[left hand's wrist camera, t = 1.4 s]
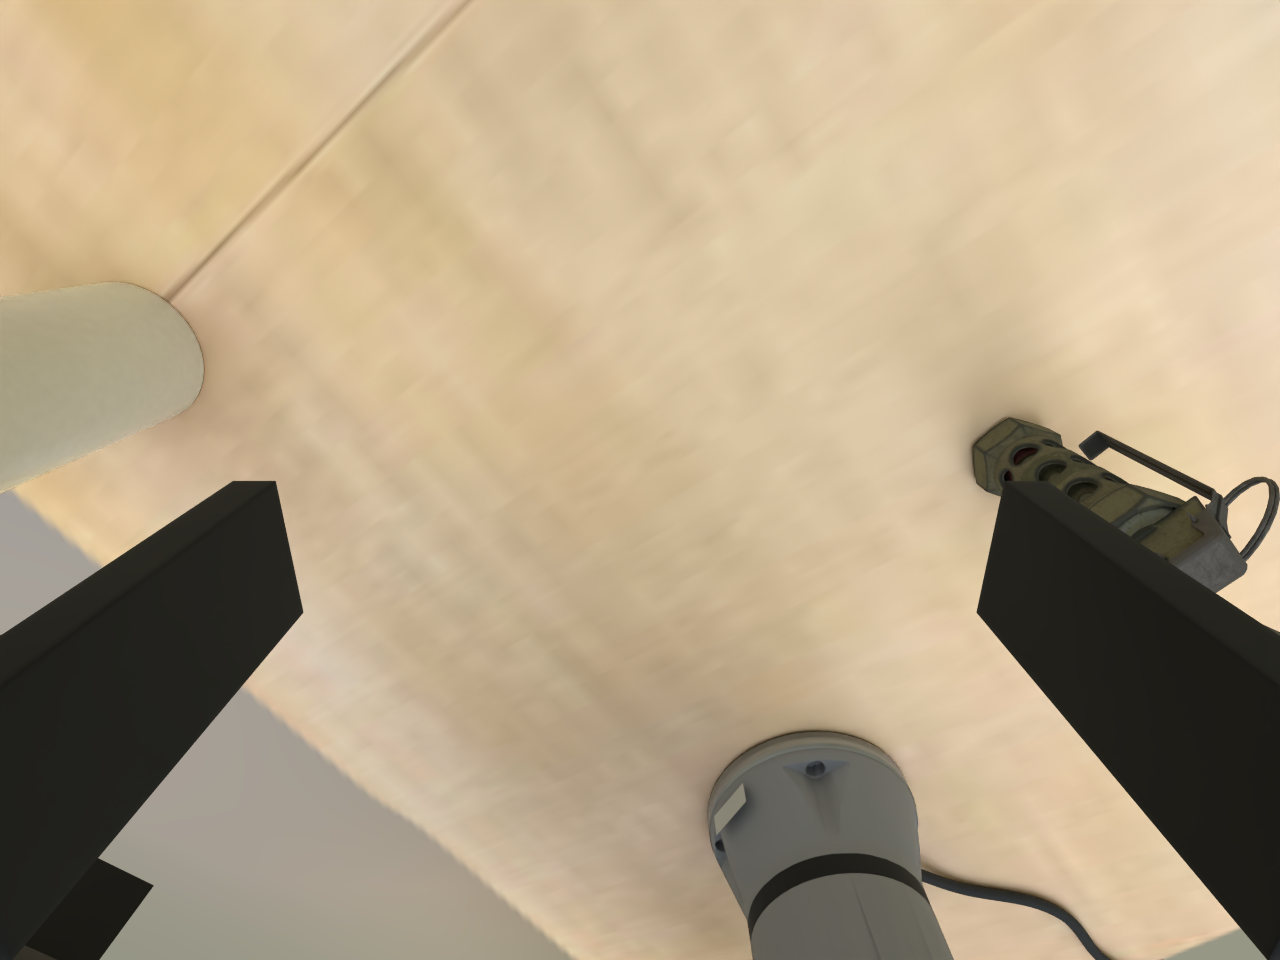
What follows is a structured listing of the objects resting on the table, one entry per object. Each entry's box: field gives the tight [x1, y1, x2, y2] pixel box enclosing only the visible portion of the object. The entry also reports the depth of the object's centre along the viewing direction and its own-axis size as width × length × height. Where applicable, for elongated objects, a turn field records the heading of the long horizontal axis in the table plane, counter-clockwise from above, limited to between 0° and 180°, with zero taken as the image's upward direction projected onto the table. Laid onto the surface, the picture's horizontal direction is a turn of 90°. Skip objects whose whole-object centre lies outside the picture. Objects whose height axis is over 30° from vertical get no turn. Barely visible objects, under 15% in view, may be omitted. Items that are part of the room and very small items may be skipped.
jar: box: [0, 282, 204, 494], centre depth 32 cm, size 8×8×16 cm
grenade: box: [973, 418, 1280, 593], centre depth 34 cm, size 9×6×15 cm, turn 134°
